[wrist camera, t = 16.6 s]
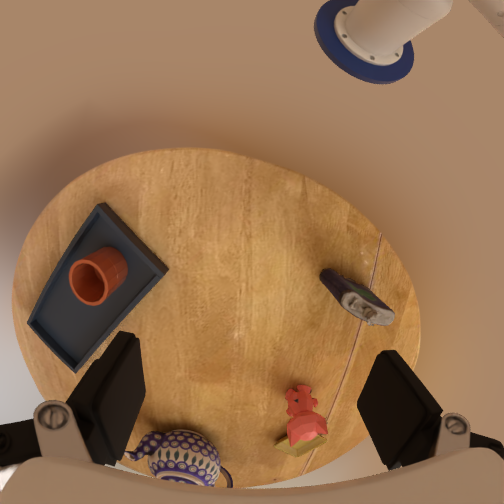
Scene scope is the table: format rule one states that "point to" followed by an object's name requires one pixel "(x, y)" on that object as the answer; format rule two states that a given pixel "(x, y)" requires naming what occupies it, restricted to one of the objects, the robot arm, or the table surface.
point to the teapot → (181, 457)
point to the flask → (357, 298)
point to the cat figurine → (303, 416)
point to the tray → (87, 316)
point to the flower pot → (98, 275)
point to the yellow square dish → (299, 445)
